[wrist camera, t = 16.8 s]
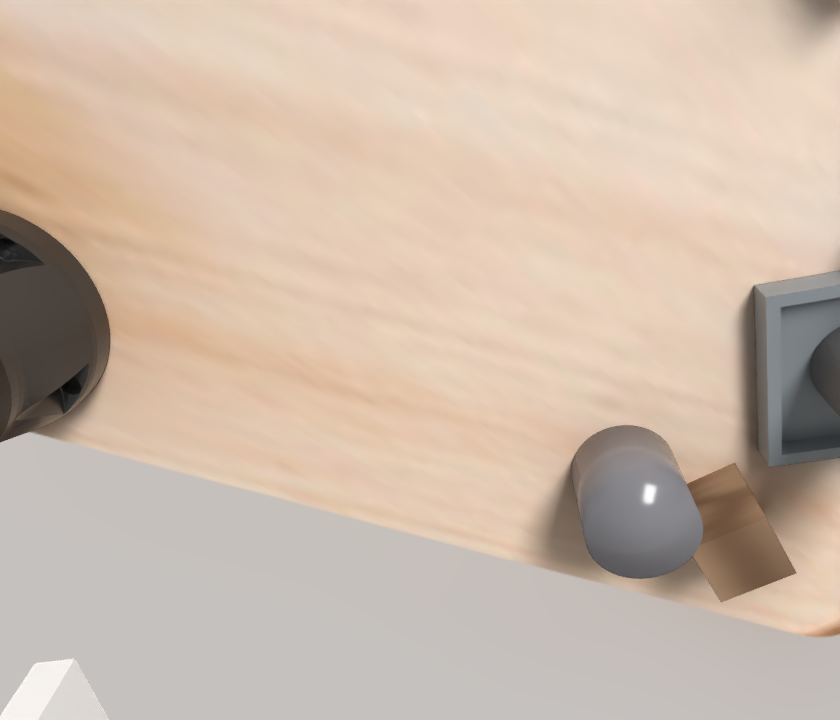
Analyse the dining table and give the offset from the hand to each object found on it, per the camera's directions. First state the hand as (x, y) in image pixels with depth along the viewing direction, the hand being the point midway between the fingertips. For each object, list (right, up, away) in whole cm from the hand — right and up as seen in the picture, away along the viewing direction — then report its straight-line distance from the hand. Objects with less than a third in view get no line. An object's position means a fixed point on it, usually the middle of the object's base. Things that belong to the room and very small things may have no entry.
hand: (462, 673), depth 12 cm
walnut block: (+20, -5, +39) cm, 45 cm away
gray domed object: (+13, -2, +39) cm, 41 cm away
